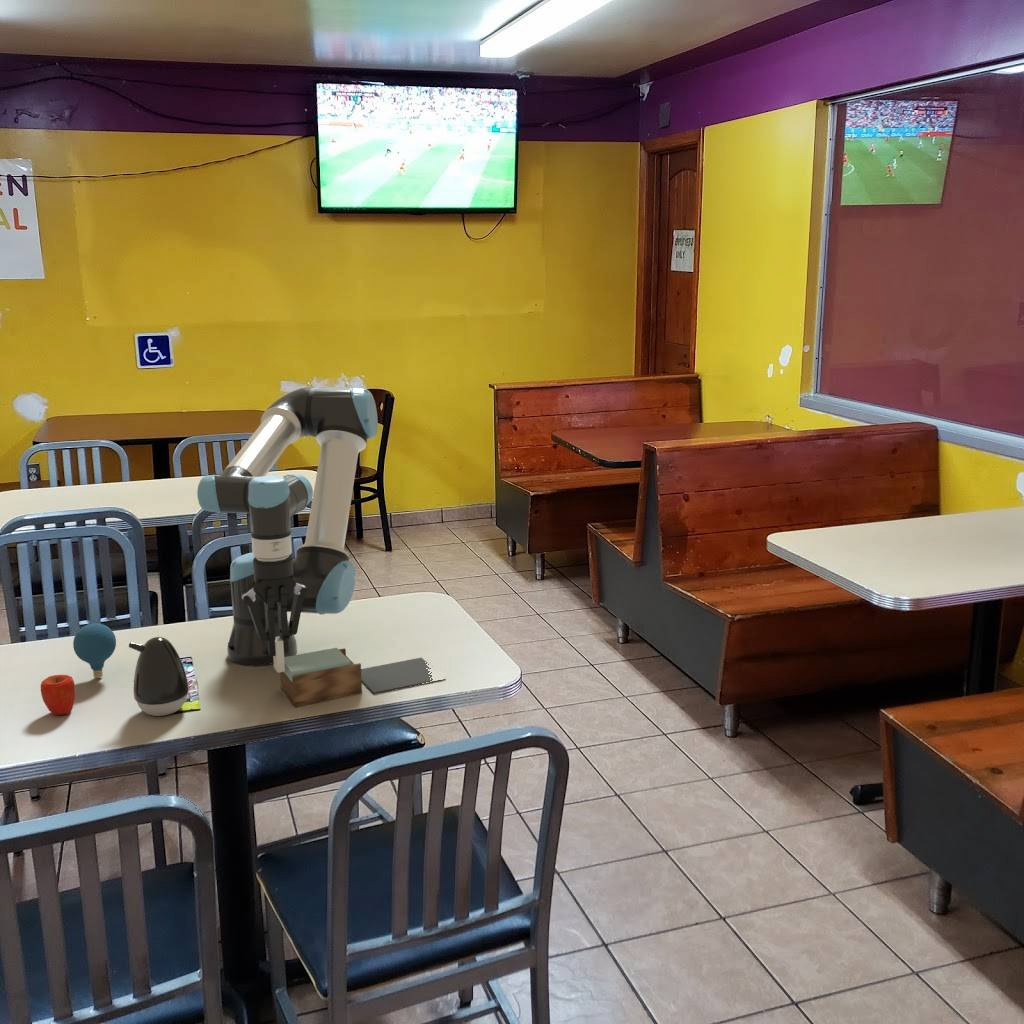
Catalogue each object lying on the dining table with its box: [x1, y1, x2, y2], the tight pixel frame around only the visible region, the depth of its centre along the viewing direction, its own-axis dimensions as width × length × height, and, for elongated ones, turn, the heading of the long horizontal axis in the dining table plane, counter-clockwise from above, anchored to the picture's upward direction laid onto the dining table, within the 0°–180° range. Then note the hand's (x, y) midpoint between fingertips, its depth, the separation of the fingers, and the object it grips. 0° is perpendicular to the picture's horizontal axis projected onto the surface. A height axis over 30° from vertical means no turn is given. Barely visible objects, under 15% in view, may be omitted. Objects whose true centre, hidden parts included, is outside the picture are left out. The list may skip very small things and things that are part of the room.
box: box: [279, 648, 363, 708], centre depth 209 cm, size 14×10×6 cm
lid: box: [284, 647, 351, 682], centre depth 208 cm, size 12×8×2 cm
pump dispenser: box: [128, 636, 190, 717], centre depth 199 cm, size 10×10×15 cm
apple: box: [40, 674, 76, 716], centre depth 199 cm, size 6×6×8 cm
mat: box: [361, 657, 433, 695], centre depth 217 cm, size 16×13×1 cm
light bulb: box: [72, 622, 117, 679], centre depth 215 cm, size 8×8×12 cm
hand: (279, 669), depth 204 cm, fingers closed
